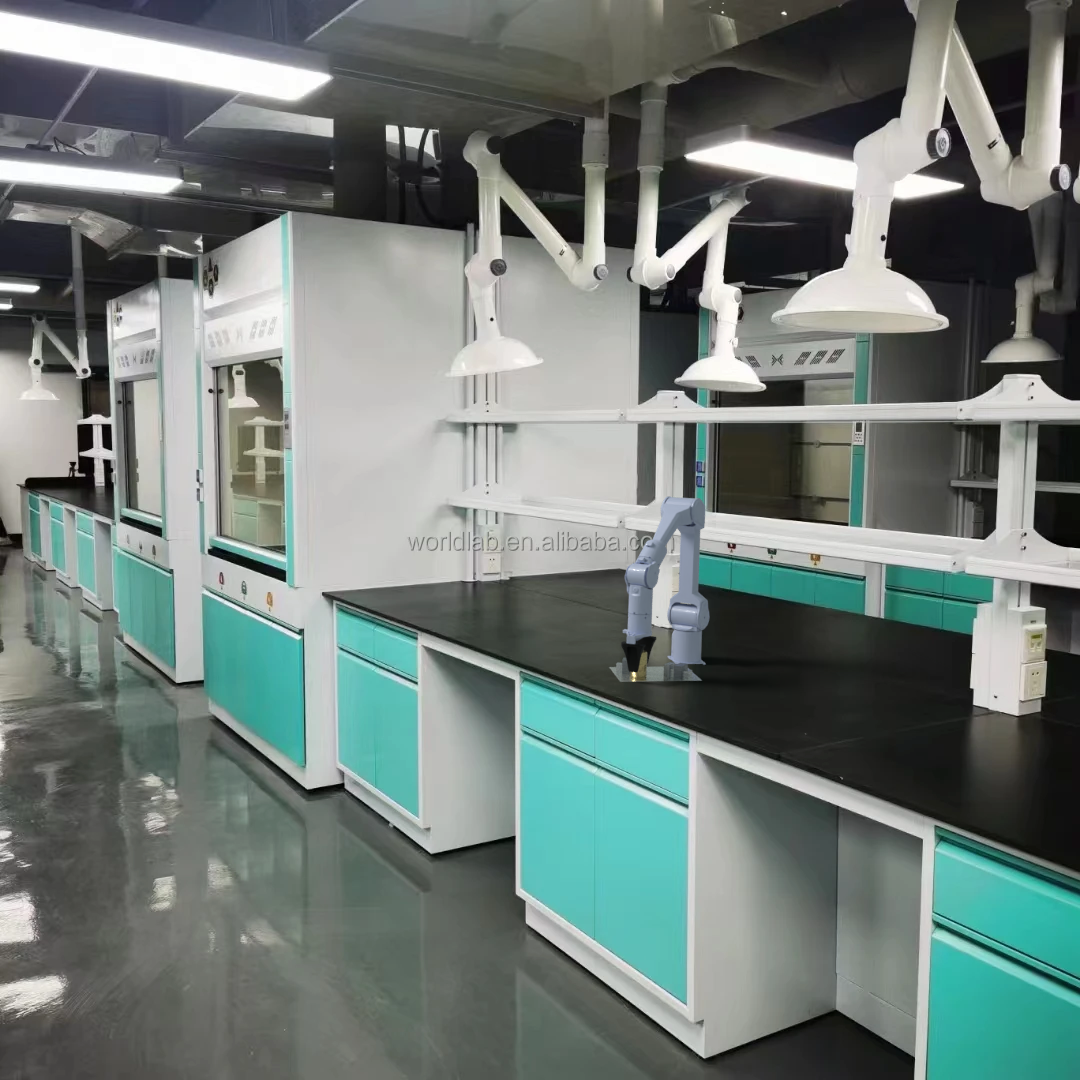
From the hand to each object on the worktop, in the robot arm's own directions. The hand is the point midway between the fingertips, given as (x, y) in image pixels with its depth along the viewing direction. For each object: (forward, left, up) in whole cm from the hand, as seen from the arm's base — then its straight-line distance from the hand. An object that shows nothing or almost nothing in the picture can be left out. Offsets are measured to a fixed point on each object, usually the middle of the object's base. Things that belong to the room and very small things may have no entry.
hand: (638, 668), depth 247 cm
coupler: (0, 0, -2) cm, 2 cm away
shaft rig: (-4, +5, -3) cm, 7 cm away
